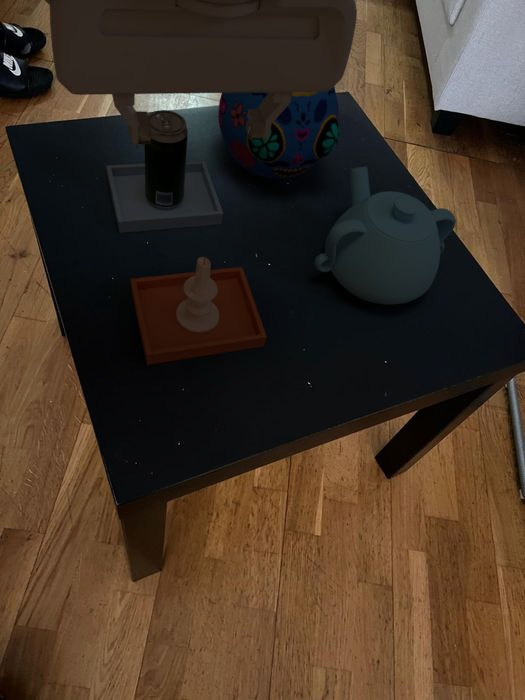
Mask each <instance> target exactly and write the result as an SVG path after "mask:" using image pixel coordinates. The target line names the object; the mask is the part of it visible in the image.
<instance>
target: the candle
mask: <svg viewBox="0 0 525 700" xmlns="http://www.w3.org/2000/svg"><path fill="white" fill-rule="evenodd" d="M211 265H212V264H211V261H210V260H209V258H207V257H205V256H200V257H198V258H197V260H196V267H195V272H196V273H195V276H193V277H190V278H189V279H188V280H187V281H186V282H185V284H184V292H185V294H186V295H187V296H188V298H187V299H186V300H184V301H183V302H181V303H180V304H179V306H178V308H177V311H176V318H177V321H178V323H179V325H180V326H181V327H182V328H183V329H185V330H187V331H189V332H192V333H205V332H209V331H210V330H212V329H213V328H214V327H215V326H216V325H217V323H218V321H219V311H218V309H217V307H216V306H215V305H214V304H213V303H212V301H211V300H212V299H213V298H214V297H215V296H216V294H217V291H218V288H217V285H216V283H215V282H214V281H213V280H212V279H211V278H210V270H211Z"/></svg>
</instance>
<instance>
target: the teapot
mask: <svg viewBox="0 0 525 700" xmlns="http://www.w3.org/2000/svg"><path fill="white" fill-rule="evenodd" d="M368 171H369V170H368V166H367V165H366V166H359V167H353V168H352V167H351V168H348V177H349V187H350V188H349V189H350V198H351V207H350V208H348V209H347V210H346V211H345V212H344V213H342V215H340V216H339V218H338V219H337V220H336V221H335V223H334V224H333V225H332V227H331V229H330V231H329V233H328V234H327V237H326V240H325V243H324V253H320V254H317V255H316V257H315V259H314V267H315V269H316V270H317V271H319V272H321V273H329V272H331V274H332V275H333V276H334V278H335V279H336V281H337V282H338V283H339V284H340V285H341V286H342V287H343V288H344V289H345V290H346V291H347V292H349V293H350V294H352V295H353V296H354V297H356V298H358V299H361V300H363V301H366V302H368V303H372V304H377V305H400V304H406V303H410V302H412V301H414V300H416V299H418V298H420V297H422V296H423V295H424V294H425V293H426V292H427V291H428V290H429V289H430V287H431V286H432V284H433V282H434V280H435V278H436V275H437V273H438V269H439V265H440V262H441V261H440V260H441V255H442V254H443V252H444V250H445V247H446V245H445V242H444V240H446V239H447V237H448V236H450V234H451V233H452V231H454V228H455V227H456V223H457V222H456V221H457V220H456V217H455V215H454V214H453V212H451V210H449V209H447V208H434V209H432V210H430V208H428V207H427V205H425V204H424V203H423V202H422V201H421V200H420V199H418V198H416V197H414V196H412V195H409V194H407V193H404V192H401V191H392V190H391V191H389V190H388V191H380V192H377V193H375V194H373V195H371V190H370V189H371V187H370V180H369V179H370V178H369V172H368ZM442 221H443V222H442ZM438 222H442V224H440V226H439V227H438V225H437V223H438Z"/></svg>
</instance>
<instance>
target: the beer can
mask: <svg viewBox="0 0 525 700" xmlns="http://www.w3.org/2000/svg"><path fill="white" fill-rule="evenodd" d="M148 120H150V124H151V135H150V137H151V144H143V147H144V164H145V195H146V198H147V200H148V201H149V203H150V204H151V205H152V206H154V207H156V208H159V209H163V210H169V209H173V208H176V207H177V206H178V205H179V204H180V203H181V202H182V200H183V198H184V185H185V168H186V162H187V149H188V135H189V134H188V133H189V131H188V127H187V121H186V119H185V118H184V117H183V116H182V115H181V114H179V113H177V112H175V111H172V110H168V109H167V110H166V109H160V110H154V111H152V112H149V113H148Z"/></svg>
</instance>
